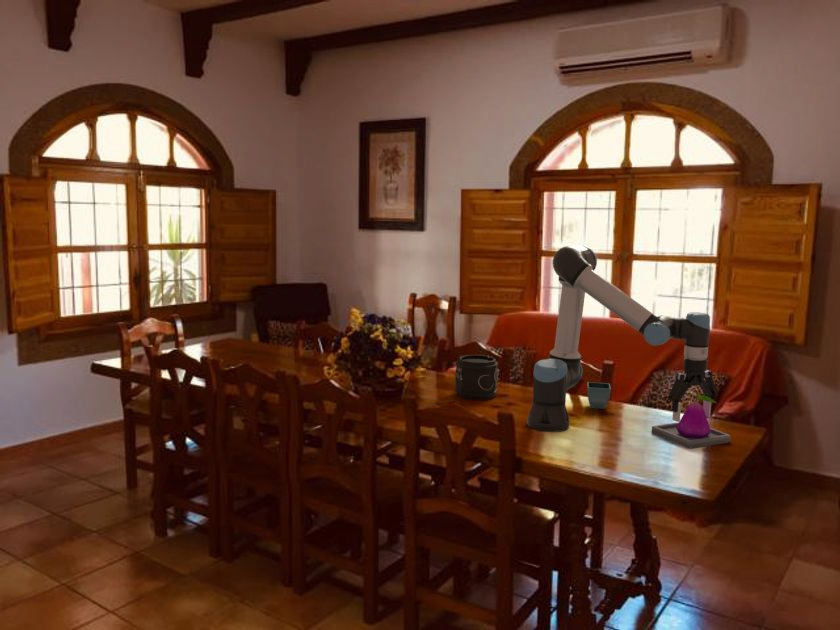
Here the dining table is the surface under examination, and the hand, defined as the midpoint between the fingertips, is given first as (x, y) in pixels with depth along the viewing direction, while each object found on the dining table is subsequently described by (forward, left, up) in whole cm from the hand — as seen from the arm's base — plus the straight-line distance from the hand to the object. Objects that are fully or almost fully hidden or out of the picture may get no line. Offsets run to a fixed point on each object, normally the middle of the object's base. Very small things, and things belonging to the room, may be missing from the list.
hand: (691, 418), depth 248 cm
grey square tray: (0, 0, -7) cm, 7 cm away
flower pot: (-6, +43, -7) cm, 44 cm away
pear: (0, -1, -5) cm, 6 cm away
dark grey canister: (-42, +77, -7) cm, 88 cm away
